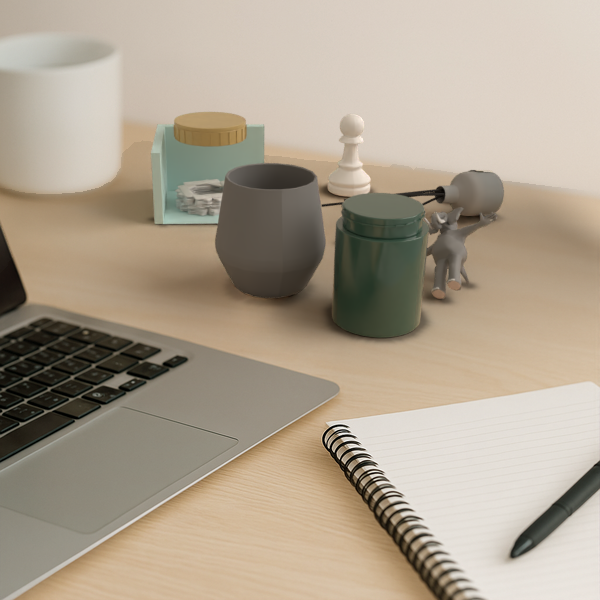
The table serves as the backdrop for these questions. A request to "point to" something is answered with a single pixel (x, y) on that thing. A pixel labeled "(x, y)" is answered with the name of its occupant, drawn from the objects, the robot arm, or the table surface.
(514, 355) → the table surface
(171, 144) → the l-shaped corner panel
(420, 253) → the jar
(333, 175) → the chess pawn
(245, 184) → the cup
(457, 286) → the elephant figurine
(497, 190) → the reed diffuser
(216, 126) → the jar lid
